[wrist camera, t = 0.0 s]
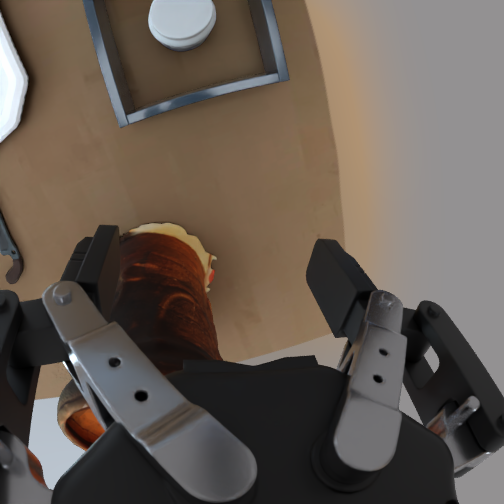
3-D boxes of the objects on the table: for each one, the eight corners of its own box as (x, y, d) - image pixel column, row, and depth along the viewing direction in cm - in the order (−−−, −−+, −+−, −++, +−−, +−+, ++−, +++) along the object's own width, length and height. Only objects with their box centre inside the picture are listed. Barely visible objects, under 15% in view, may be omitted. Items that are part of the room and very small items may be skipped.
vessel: (215, 323, 40) (241, 470, 24) (105, 319, 37) (86, 468, 20) (229, 222, 33) (277, 391, 16) (92, 216, 29) (24, 382, 13)
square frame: (93, -8, 17) (78, -19, 14) (242, -49, 18) (252, -66, 14) (129, 119, 25) (119, 128, 21) (275, 78, 26) (290, 80, 22)
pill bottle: (152, 11, 20) (138, -12, 13) (206, -1, 20) (213, -28, 13) (161, 57, 23) (149, 52, 16) (214, 46, 23) (225, 35, 16)
